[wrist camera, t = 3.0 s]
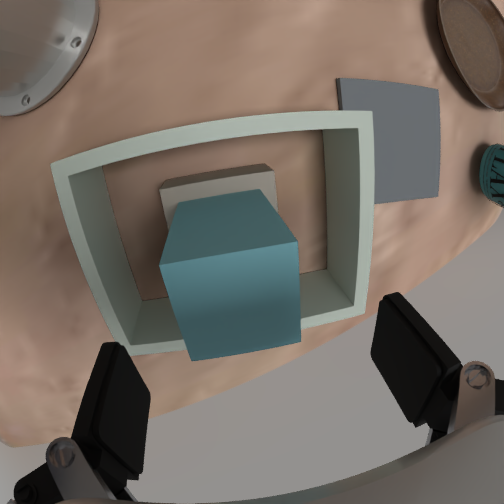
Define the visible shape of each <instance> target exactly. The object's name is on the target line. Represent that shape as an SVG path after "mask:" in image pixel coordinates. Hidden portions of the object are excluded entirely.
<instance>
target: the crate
mask: <svg viewBox="0 0 504 504" xmlns="http://www.w3.org/2000/svg"><path fill="white" fill-rule="evenodd" d="M316 129H322V130H323V143H324V159H325V177H326V204H327V269H324V270H319V271H314V272H309V273H304V274H299V280H300V311H301V329H305V328H309V327H314V326H318V325H322V324H326V323H330V322H334V321H338V320H342V319H346V318H350V317H354V316H357V315H361V314H365V307H366V300H367V292H368V283H369V274H370V263H371V252H372V238H373V220H374V184H375V167H374V132H373V115H372V111H306V112H289V113H275V114H264V115H255V116H246V117H238V118H230V119H223V120H216V121H210V122H204V123H198V124H192V125H187V126H182V127H177V128H172V129H167V130H162V131H158V132H154V133H149V134H145V135H141V136H137V137H133V138H129V139H125V140H122V141H118V142H115V143H111V144H108V145H104V146H101V147H98V148H94V149H91V150H88V151H85V152H82V153H79V154H76V155H73V156H70V157H67V158H65V159H62V160H59V161H56V162H54V163H51V164H50V166H51V170H52V174H53V179H54V183H55V187H56V191H57V194H58V198H59V202H60V205H61V209H62V212H63V215H64V219H65V222H66V225H67V228H68V231H69V234H70V237H71V240H72V243H73V246H74V249H75V251H76V254H77V257H78V259H79V262H80V265H81V267H82V270H83V272H84V275H85V277H86V280H87V282H88V285H89V287H90V289H91V292H92V294H93V296H94V298H95V301H96V303H97V305H98V307H99V309H100V312H101V314H102V316H103V318H104V320H105V322H106V324H107V326H108V328H109V330H110V332H111V334H112V336H113V338H114V340H115V342H119V343H120V344H121V345H124V346H125V348H126V350H127V352H128V354H129V355H130V356H134V355H144V354H154V353H163V352H172V351H180V350H187V348H186V345H185V342H184V340H183V337H182V334H181V331H180V328H179V326H178V323H177V320H176V317H175V314H174V311H173V308H172V305H171V302H170V299H169V297H166V298H160V299H153V300H146V301H142V299H141V297H140V294H139V291H138V288H137V286H136V283H135V280H134V277H133V274H132V271H131V268H130V266H129V263H128V260H127V256H126V253H125V250H124V247H123V244H122V241H121V237H120V234H119V231H118V227H117V224H116V220H115V217H114V213H113V209H112V205H111V202H110V198H109V194H108V190H107V186H106V181H105V177H104V173H103V168H102V165H105V164H109V163H113V162H116V161H120V160H124V159H128V158H132V157H136V156H140V155H144V154H148V153H153V152H157V151H162V150H166V149H171V148H176V147H181V146H186V145H191V144H197V143H203V142H209V141H215V140H221V139H228V138H235V137H242V136H250V135H258V134H267V133H277V132H288V131H301V130H316ZM255 189H260V190H261V191H262V193H263V194H264V195H265V197H266V198H267V199H268V201H269V202H270V203H271V205H272V206H273V208H274V209H275V210H276V212H277V213H278V206H277V195H276V185H275V175H274V170H272V169H271V168H270V167H269V166H267V165H266V164H257V165H250V166H243V167H236V168H230V169H223V170H217V171H211V172H205V173H200V174H194V175H189V176H184V177H178V178H173V179H168V180H166V181H165V182H164V184H163V185H162V187H161V188H160V190H159V191H160V195H161V200H162V204H163V209H164V213H165V218H166V222H167V226H168V230H170V227H171V224H172V221H173V217H174V214H175V211H176V208H177V205H178V202H183V201H189V200H194V199H200V198H205V197H211V196H217V195H223V194H229V193H235V192H241V191H248V190H255Z"/></svg>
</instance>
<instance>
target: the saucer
mask: <svg viewBox="0 0 504 504" xmlns="http://www.w3.org/2000/svg"><path fill="white" fill-rule="evenodd" d="M437 18H438V26H439V31H440V35H441V38H442V42H443V44H444V47H445V49H446V52H447V54H448V56H449V58H450V61H451V62H452V64H453V66H454V68H455V70H456V71H457V73H458V74H459V76H460V77H461V79H462V80H463V82H464V83H465V84H466V86H467V87H468V88H469V89H470V91H471V92H472V93H473V94H474V95H475V96H476V97H477V98H478V99H479V100H480V101H481V102H482V103H483V104H484V105H485V106H487V107H489V108H490V109H492V110H495V111H504V18H503V16H502V14H501V13H500V11H499V10H498V8H497V7H496V6H495V4H494V3H493V2H492V1H491V0H438V2H437Z"/></svg>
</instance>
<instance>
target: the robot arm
mask: <svg viewBox="0 0 504 504" xmlns="http://www.w3.org/2000/svg"><path fill="white" fill-rule="evenodd" d="M98 14H99V4H98V0H0V116H13V115H18V114H23V113H26V112H28V111H31V110H33V109H35V108H37V107H38V106H40V105H41V104H43V103H44V102H46V101H47V100H49V99H50V98H51V97H52V96H53V95H54V94H55V93H56V92H58V91H59V90H60V89H61V87H62V86H63V85H64V84H65V83H66V82H67V81H68V80H69V79H70V77H71V76H72V74H73V73H74V72H75V70H76V69H77V67H78V66H79V65H80V63H81V61H82V59H83V58H84V56H85V54H86V52H87V51H88V49H89V46H90V44H91V41H92V39H93V37H94V34H95V30H96V26H97V23H98ZM80 43H81V44H80ZM79 44H80V45H79ZM78 45H79V46H78ZM371 358H372V360H373V361H374V363H375V365H376V367H377V368H378V370H379V372H380V373H381V375H382V377H383V378H384V380H385V382H386V384H387V385H388V387H389V389H390V390H391V392H392V394H393V396H394V397H395V399H396V401H397V403H398V404H399V406H400V408H401V409H402V411H403V413H404V415H405V417H406V418H407V420H408V421H409V422H410V423H412V422H413V424H414V426H415V427H418V426H421V425H423V424H425V423H427V424H428V426H429V427H430V429H429V433H428V437H427V441H426V445H425V447H422V448H420V449H419V450H416V451H414V452H412V453H410V454H408V455H405V456H403V457H401V458H399V459H397V460H394V461H392V462H389V463H387V464H385V465H382V466H380V467H377V468H375V469H372V470H369V471H366V472H364V473H361V474H358V475H355V476H352V477H349V478H346V479H343V480H339V481H336V482H333V483H329V484H326V485H322V486H319V487H314V488H310V489H306V490H302V491H297V492H293V493H288V494H283V495H277V496H272V497H265V498H258V499H251V500H242V501H232V502H219V503H197V504H504V380H499V379H495V377H494V373H493V371H492V369H491V368H490V367H489V366H488V365H486V364H484V363H483V362H479V361H472V362H468V363H467V364H465V365H464V366H462V364H461V361H460V360H459V359H458V358H457V357H456V355H455V354H454V353H453V352H452V351H451V349H450V348H449V347H448V346H447V345H446V343H445V342H444V341H443V340H442V339H441V338H440V337H439V335H438V334H437V333H436V332H435V331H434V330H433V329H432V327H431V326H430V325H429V324H428V323H427V322H426V321H425V320H424V318H423V317H422V316H420V314H419V313H418V312H417V311H416V310H415V309H414V308H413V306H412V305H411V304H410V303H409V302H408V301H407V300H406V299H405V298H404V297H403V296H402V295H401V294H400V293H399V292H396V293H392V294H388V295H385V296H384V297H383V299H382V300H381V301H380V302H379V308H378V314H377V320H376V326H375V332H374V337H373V342H372V347H371ZM150 400H151V396H150V392H149V390H148V388H147V386H146V385H145V383H144V381H143V379H142V378H141V376H140V374H139V372H138V370H137V369H136V367H135V365H134V363H133V361H132V359H131V357H130V355H129V354H128V352H127V350H126V348H125V346H124V345H121V344H120V343H119V342H106V343H103V344H102V346H101V348H100V351H99V354H98V356H97V359H96V362H95V365H94V367H93V370H92V373H91V376H90V379H89V381H88V383H87V386H86V389H85V392H84V396H83V399H82V402H81V405H80V408H79V412H78V415H77V418H76V422H75V425H74V429H73V432H72V436H71V438H68V437H60V438H57V439H55V440H54V441H52V442H51V443H50V445H49V446H48V448H47V451H46V463H44V464H43V465H41V466H40V467H38V468H37V469H35V470H34V471H32V472H31V473H29V474H28V475H26V476H25V477H23V478H21V479H20V480H19V481H18V482H17V483H16V485H15V488H14V498H15V500H12V499H10V500H9V502H8V503H7V504H174V503H148V502H138V501H137V500H136V498H135V497H134V496H133V495H132V493H131V492H130V491H129V489H128V488H127V487H126V485H127V479H128V480H138V479H139V474H141V473H142V472H143V464H144V453H145V442H146V433H147V424H148V416H149V408H150Z"/></svg>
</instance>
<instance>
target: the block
mask: <svg viewBox="0 0 504 504" xmlns="http://www.w3.org/2000/svg"><path fill="white" fill-rule="evenodd" d="M159 267H160V270H161V274H162V277H163V280H164V283H165V287H166V290H167V293H168V296H169V299H170V302H171V305H172V308H173V311H174V314H175V317H176V320H177V323H178V326H179V328H180V331H181V334H182V337H183V340H184V342H185V345H186V348H187V350H188V353H189V356H190V358H191V361H198V360H205V359H212V358H219V357H225V356H231V355H237V354H243V353H249V352H254V351H259V350H265V349H270V348H275V347H279V346H284V345H289V344H293V343H298V342H301V311H300V280H299V256H298V241H297V240H296V238H295V237H294V235H293V234H292V233H291V231H290V230H289V228H288V227H287V226H286V224H285V223H284V221H283V220H282V219H281V217H280V216H279V214H278V213H277V212H276V210H275V209H274V208H273V206H272V205H271V203H270V202H269V201H268V199H267V198H266V197H265V195H264V194H263V193H262V191H261V190H260V189H255V190H248V191H241V192H235V193H229V194H223V195H217V196H211V197H205V198H200V199H194V200H189V201H183V202H178V205H177V208H176V211H175V214H174V217H173V221H172V224H171V227H170V230H169V233H168V236H167V240H166V243H165V246H164V250H163V253H162V256H161V260H160V263H159Z"/></svg>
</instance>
